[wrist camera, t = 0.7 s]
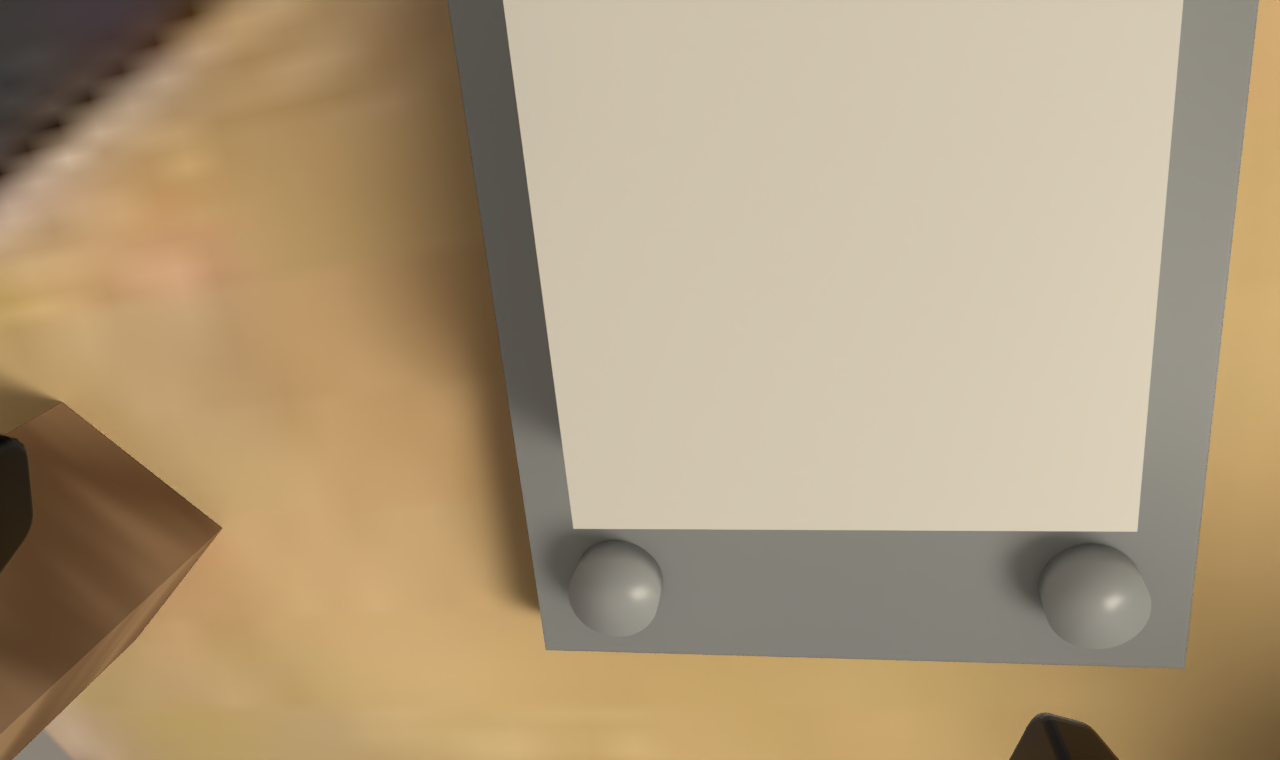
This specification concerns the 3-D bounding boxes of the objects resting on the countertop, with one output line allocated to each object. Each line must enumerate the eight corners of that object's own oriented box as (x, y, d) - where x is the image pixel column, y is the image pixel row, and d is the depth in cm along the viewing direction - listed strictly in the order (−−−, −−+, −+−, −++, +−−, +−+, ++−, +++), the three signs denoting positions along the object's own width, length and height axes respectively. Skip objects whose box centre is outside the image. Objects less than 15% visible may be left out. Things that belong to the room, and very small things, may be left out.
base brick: (1168, 634, 23) (1232, 769, 19) (558, 620, 26) (509, 735, 22) (1282, -466, 16) (1419, -596, 12) (421, -323, 19) (315, -394, 15)
